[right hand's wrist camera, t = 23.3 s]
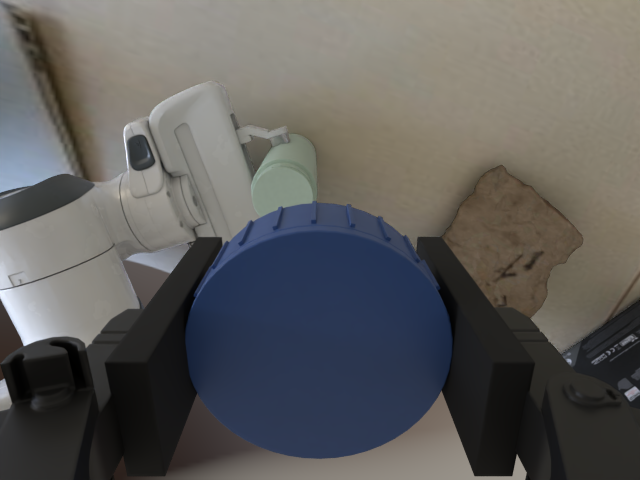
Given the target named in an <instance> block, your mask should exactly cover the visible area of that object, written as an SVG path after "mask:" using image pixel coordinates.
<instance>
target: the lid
mask: <svg viewBox="0 0 640 480" xmlns="http://www.w3.org/2000/svg"><path fill="white" fill-rule="evenodd" d="M439 289H440V287H439V285H438V283H437V281H436V280H435V278H434V276H433V274H432V272H431V271H430V269H429V267H428V265H427V264H426V262H425V260H422V261H421V259H420V258H419V256H418V255H417V253H416V251H415V250H414V248H413V246H412V244H411V242H410V240H409V238H408V237H407V236H406V235H405V236H404V237H403V236H402V235H401V234H400V233H399V232H398V231H396V230H395V229H394V228H393V227H392V226H390V225H389V224H387V223H386V222H384V220H383V218H382V217H381V216H378V218H377V217H375V216H373V215H371V214H369V213H367V212H365V211H361V210H358V209H355V208H352V207H351V205H349V204H347V206H343V205H338V204H328V203H317V201H312V203H310V204H299V205H294V206H290V207H285V208H283V207H282V206H281V207H278V210H276V211H273V212H270V213H268V214H266V215H264V216H262V217H260V218H258V219H256V220H255V221H252V220H250V221H249V222H248V223H247V225H246V227H245V228H243V229H242V230H241V231H240V232H239V233H238V234H237V235H235V236H234V237H233V238H232V239H231V241H230V242H228V241H226V242H225V243H224V245H223V247H222V248H221V250H220V252H219V254H218V255H217V257H216V259H215V261H214V262H213V264H212V266H210V267H209V269H208V271H207V272H206V274H205V276H204V278H203V279H202V281H201V283H200V285H199V286H198V288H197V290H196V292H195V293H194V297H196V298H195V300H194V303H193V305H192V307H191V310H190V312H189V316H188V320H187V324H186V328H185V343H186V351H187V359H188V367H189V374H190V378H191V381H192V383H193V386H194V388H195V390H196V391H197V393H198V395H199V397H200V399H201V400H202V402H203V403H204V404H205V406H206V407H207V408H208V410H209V411H210V412H211V413H212V414H213V415H214V416H215V417H216V418H217V419H218V420H219V421H220V422H221V423H222V424H223V425H224V426H226V427H227V428H228V429H229V430H231V431H232V432H233V433H235V434H236V435H238V436H240V437H241V438H243V439H244V440H246V441H248V442H250V443H252V444H254V445H256V446H258V447H261V448H264V449H267V450H269V451H272V452H276V453H280V454H284V455H288V456H294V457H301V458H316V459H322V458H337V457H344V456H350V455H354V454H358V453H362V452H365V451H368V450H371V449H373V448H376V447H379V446H381V445H383V444H385V443H387V442H389V441H391V440H393V439H395V438H396V437H398V436H399V435H401V434H402V433H404V432H405V431H407V430H408V429H409V428H411V427H412V426H413V425H414V424H415V423H417V422H418V421H419V420H420V419H421V418H422V417H423V416H424V414H425V413H426V412H427V411H428V410H429V409H430V408H431V406H432V405H433V403H434V402H435V400H436V399H437V398H438V396H439V394H440V392H441V390H442V388H443V386H444V384H445V382H446V379H447V376H448V373H449V370H450V365H451V359H452V351H453V337H452V329H451V323H450V316H449V314H448V312H447V309H446V307H445V305H444V303H443V301H442V298H441V296H440V294H439V292H438V291H437V290H439Z"/></svg>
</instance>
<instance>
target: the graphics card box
mask: <svg viewBox="0 0 640 480" xmlns="http://www.w3.org/2000/svg"><path fill="white" fill-rule="evenodd" d="M562 356H563V358H564V359H565V360H566V361H567V362H568V363H569V365H570V366H571V367H572V368H573V369H574V370H575V372H576V373H580V374H584V375H587V376H591V377H594V378H597V379H599V380H601V381H603V382H605V383H607V384H609V385H610V386H612V387H613V388H614V389H616V390H617V391H619V392H620V393H621V394H622V395H623V397H624V398H625V399H626V401H627V402H628V404H629V406H630V407H633V408H637V409H640V300H639V301H638V302H636V303H635V304H634V305H632V306H631V307H629V308H628V309H627V310H625V311H623V312H622V313H621V314H619V315H618V316H616V317H615V318H614V319H612V320H611V321H609V322H608V323H607V324H605V325H604V326H602V327H601V328H599V329H598V330H596V331H595V332H594V333H592V334H591V335H589V336H588V337H586V338H585V339H584V340H582V341H581V342H579V343H578V344H577V345H575V346H574V347H572V348H571V349H569V350H568V351H566V352H565V353H564V354H562Z"/></svg>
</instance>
